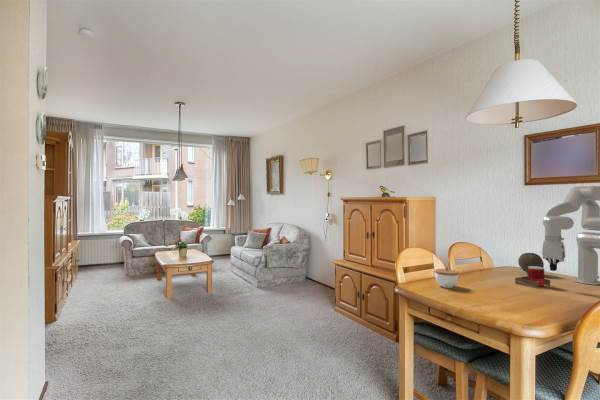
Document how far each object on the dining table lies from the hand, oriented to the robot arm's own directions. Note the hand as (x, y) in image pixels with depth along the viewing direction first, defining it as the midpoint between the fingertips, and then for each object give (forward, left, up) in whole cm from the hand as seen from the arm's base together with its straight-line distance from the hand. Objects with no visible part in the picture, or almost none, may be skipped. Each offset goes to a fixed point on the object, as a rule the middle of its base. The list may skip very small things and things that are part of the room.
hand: (553, 270), depth 191 cm
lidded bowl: (+54, -28, -11) cm, 62 cm away
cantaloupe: (-28, -28, -11) cm, 41 cm away
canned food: (+2, -8, -11) cm, 14 cm away
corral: (+1, -10, -11) cm, 15 cm away
